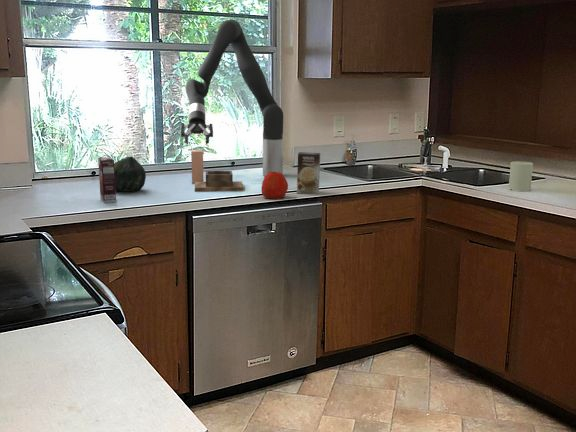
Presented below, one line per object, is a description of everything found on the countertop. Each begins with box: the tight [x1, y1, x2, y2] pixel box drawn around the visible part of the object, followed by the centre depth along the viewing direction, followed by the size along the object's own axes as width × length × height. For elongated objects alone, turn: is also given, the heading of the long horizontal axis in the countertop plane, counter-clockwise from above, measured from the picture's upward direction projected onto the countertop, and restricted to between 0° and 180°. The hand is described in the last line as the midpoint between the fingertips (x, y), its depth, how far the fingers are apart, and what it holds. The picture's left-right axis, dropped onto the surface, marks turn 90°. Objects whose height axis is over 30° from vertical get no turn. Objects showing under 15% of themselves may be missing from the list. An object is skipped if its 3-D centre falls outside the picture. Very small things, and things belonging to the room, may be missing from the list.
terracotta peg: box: [190, 149, 205, 185], centre depth 279 cm, size 5×5×14 cm
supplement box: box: [97, 156, 117, 204], centre depth 238 cm, size 9×5×16 cm, turn 25°
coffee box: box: [296, 151, 321, 195], centre depth 259 cm, size 9×6×16 cm
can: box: [508, 160, 534, 192], centre depth 272 cm, size 9×9×12 cm
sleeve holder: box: [194, 170, 245, 192], centre depth 268 cm, size 20×15×6 cm
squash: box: [114, 156, 147, 193], centre depth 258 cm, size 14×15×15 cm
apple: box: [261, 171, 289, 200], centre depth 248 cm, size 10×10×10 cm
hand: (197, 143), depth 283 cm, fingers open, 8 cm apart
